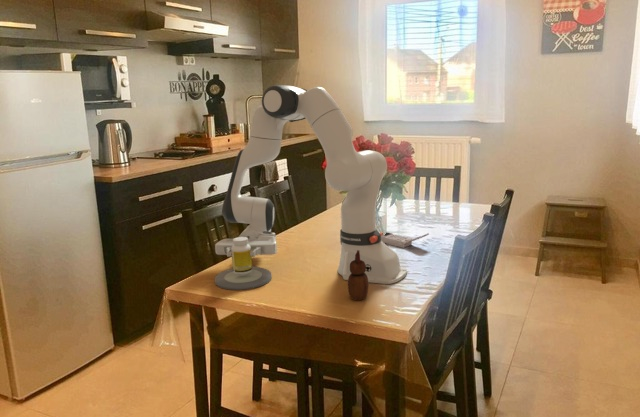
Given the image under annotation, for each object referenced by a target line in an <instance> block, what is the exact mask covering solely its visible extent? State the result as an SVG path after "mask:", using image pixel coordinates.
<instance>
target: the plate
mask: <svg viewBox="0 0 640 417" xmlns="http://www.w3.org/2000/svg"><path fill="white" fill-rule="evenodd" d="M271 280H272V272H271V271H270V270H269V269H268V268H267V269H266V268H264V267H259V266H252V272H250V273H248V274H244V275H238V274H235V273H234V272H233V268H230V269H226V270H223V271H221V272H219V273H218V274H216V276H214V284H215V285H216V286H217V287H218V288H220V289H223V290H227V291H228V290H229V291H246V290H252V289H256V288H260V287H263V286H265V285H266V284H267V285H268V283H270V282H271Z"/></svg>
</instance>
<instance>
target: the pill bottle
mask: <svg viewBox="0 0 640 417" xmlns="http://www.w3.org/2000/svg"><path fill="white" fill-rule="evenodd" d="M232 239H233V244H234V245H233V246H232V248H231V253H232V257H231V263H232V269H233V272H234V273H235V274H238V275H244V274H248V273H250V272H252V267H253V259H252V257H250V255H251V254H250V251H251V247H250V245H249V244H247V243H248V238H246V237H239V236H238V237H235V238H232Z"/></svg>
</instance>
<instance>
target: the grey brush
mask: <svg viewBox="0 0 640 417" xmlns="http://www.w3.org/2000/svg"><path fill="white" fill-rule="evenodd" d="M429 235H430V233H429V232H428V233H425V234H423V235H420V236H418V237H415V238H410V237H405V236H402V235H397V234H394V233H392V232H386V234H385V235H382V236H381V241H382V242H383V243H384V244H385V243H386V245H390V246H395V247H400V248H405V247H409V246H411V245H412V242H414V241H416V240H419V239H422V238H425V237H426V236H429Z"/></svg>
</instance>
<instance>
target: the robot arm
mask: <svg viewBox="0 0 640 417" xmlns="http://www.w3.org/2000/svg"><path fill="white" fill-rule="evenodd" d="M251 119H252V120H251V123H250V130H249V137H248V138H249V139H248V142H247V144H246V146H245V147H244V148H243V149H240V150H239V152H238V154H236V155H237V156H236V159H235V161H234V165H233V168H232V173H231V177H230V179H229V182H228V187H227V191H226V194H225V196H224V200H223V202H222V204H221V215H222V216H223V219H225V221H227V222H228V223H232V224H233V223H236V224H239V223H240V224H249V225H247V226H246V228H245V229H244V230H243V231H242V232H241V233H240V234H239V236H238V237H246V238H248V243H247V244H249V245H250V247H251V251H250V254H251V255H250V257H253V258H254V257H256V256H260V255H261V256H264V255H265V256H273V255H276V254H277V252H278V245H277V237H276V236H277V235H276V233H275V232H272V229H273V227H274V225H275V222H276V207H275V205H274V203H273V202H272V200H271V199H269V198H264V197H260V196H259V197H257V196H247V195H243V194H241V189H242V187H243V183H244V179H245V174H246V173H247V170H249V169H251V168H253V167H255V166H260V165H264V164H267V163H270V162H272V161H274V160H275V159H276V158H277V157H278V156H279V154H280V152H281V146H282V140H283V131H284V130H283V129H284V126H285V125H286V123H288V122H290V123H293V122H299V121H303V120H306V121H307V123H308V124H309V126H310V128H311V129H312V132H313V133H314V136H316V137H317V140H318V142H319V143H320V145H321V147H322V150H323V152H324V154H325V159H326V160H325V161H326V166H325V170H324V177H325V180H326V183H327V184H328V186H329V187H330V188H331V189H333V190H334V191H338V192H339V191H341V192H347V193H346V196H345V198H344V200H343V201H342V204H341V207H340V220H341V221H340V223H341V224H340V225H341V226H340V227H341V229H340V231H339V232H340V233H339V236H340V238H339V239H340V245H341V247H340V258H339V265H338V268H337V273H338V274H339V275H340V276H342V279H343V280H344V281H348V278H349V276H350V274H351V272H350V263H351V262H352V261H353V260H355V254H356V253H357V250H359V252H360V260H362V261H364V262H365V265H366V271H365V272H364V273H365V274H366V275H367V277H368V283H371V284H373V283H374V284H383V285H385V284H386V285H390V284H395V283H397V282H399V281H401V280H403V279H404V278H405V277H406V276H407V274H408V270H407V269H408V268H406V267H403V266H401V264H400V259H399V255H398V253H397V252H396V251H394V250H393V249H391V248H390V247H389V246H388V244H385V243H383V242H382V241H381V236H382V235H383V232H384V231H378V229H377V226H376V225H377V224H376V222H377V221H376V220H377V217H376V216H377V215H376V214H377V213H376V212H377V211H376V208H377V201H378V200H377V199H378V195H379V191H380V187H381V184H382V180H383V178H384V177H385V175H386V173H387V172H388V163H387V159H386V157H385V156H384V155H383V154H382V153H381V152H379V151H377V150H376V151H375V150H370V149H369V150H368V149H367V150H366V149H364V150H360V151H357V150H356V149H355V144H354V143H353V136H354V129H353V127H352V126H351V124H350V122H349V120H348V119H347V117H346V116H345V114H344V112H343V111H342V109H341V107H340V106H339V104H338V103H337V102H336V100H335V99H334V97H332V95H331V94H330V93H329V92H328V91H327V90H326V89H325V88H324V87H321V86H314V87H311V88H308V90H307V89H305V88H302V87H297V86H293V85H289V84H288V85H284V84H283V85H282V84H274V85H272V86H269V87H267V88H266V89H265V91H264V92H263V94H262V97H261V105H258V106H257V107H256V108H255V110H254V112H253V115H252V118H251ZM379 232H381V233H379ZM233 239H234V238H224V239H221V240H219V241H217V242H216V243H215V245H214V251H215V254H216V255H218V256H227V257H228V258H229V257H231V258H232V253H231V248H232V246H233V245H234V244H233Z"/></svg>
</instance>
